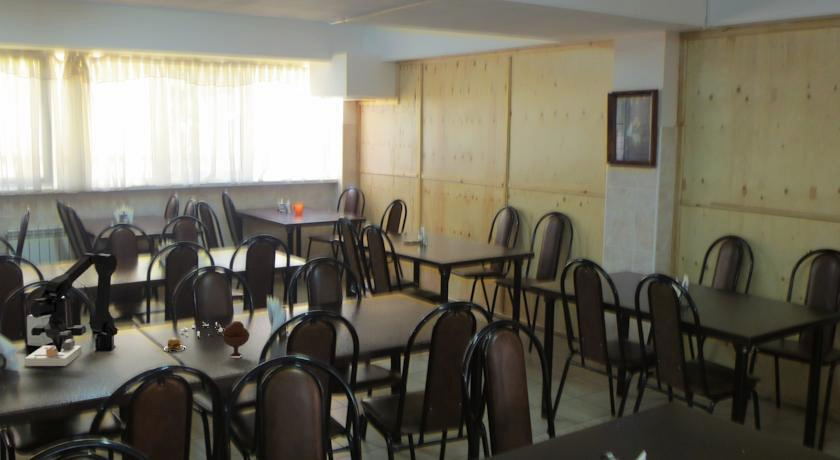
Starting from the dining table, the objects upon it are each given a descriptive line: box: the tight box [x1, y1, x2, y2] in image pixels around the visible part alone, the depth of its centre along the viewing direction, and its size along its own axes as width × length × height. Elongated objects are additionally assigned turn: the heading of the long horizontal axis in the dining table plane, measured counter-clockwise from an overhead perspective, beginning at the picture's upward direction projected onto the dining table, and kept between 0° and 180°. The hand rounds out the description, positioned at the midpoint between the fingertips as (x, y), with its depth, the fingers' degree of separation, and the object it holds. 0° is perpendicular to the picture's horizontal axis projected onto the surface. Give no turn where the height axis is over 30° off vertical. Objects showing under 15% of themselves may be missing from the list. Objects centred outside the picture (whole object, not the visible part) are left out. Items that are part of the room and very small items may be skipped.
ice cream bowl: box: [221, 320, 250, 356], centre depth 319 cm, size 11×11×15 cm
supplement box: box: [26, 314, 54, 347], centre depth 331 cm, size 7×7×13 cm
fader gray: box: [62, 338, 76, 349], centre depth 315 cm, size 3×5×3 cm, turn 4°
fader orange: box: [46, 345, 59, 356], centre depth 305 cm, size 3×5×3 cm, turn 4°
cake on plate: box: [163, 337, 187, 353], centre depth 328 cm, size 12×12×6 cm
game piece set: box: [180, 321, 224, 337], centre depth 357 cm, size 19×20×4 cm
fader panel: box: [24, 345, 83, 367], centre depth 310 cm, size 15×18×3 cm
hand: (59, 351), depth 305 cm, fingers closed
